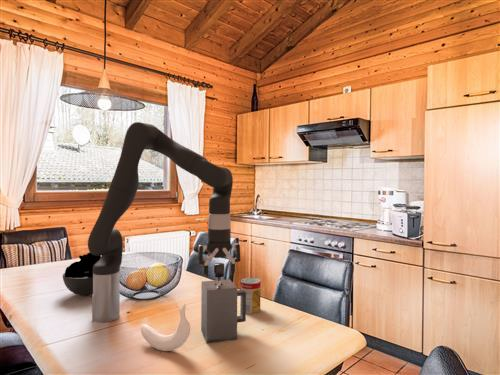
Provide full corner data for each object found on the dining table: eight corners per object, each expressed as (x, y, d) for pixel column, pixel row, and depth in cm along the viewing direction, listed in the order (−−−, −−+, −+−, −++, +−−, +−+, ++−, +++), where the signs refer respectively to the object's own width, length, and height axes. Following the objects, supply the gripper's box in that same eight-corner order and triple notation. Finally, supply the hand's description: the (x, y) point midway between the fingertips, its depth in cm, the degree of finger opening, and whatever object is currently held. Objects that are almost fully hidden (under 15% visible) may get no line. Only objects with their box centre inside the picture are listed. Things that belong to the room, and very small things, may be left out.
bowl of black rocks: (87, 305, 143) (86, 259, 143) (51, 298, 151) (51, 255, 150) (121, 291, 162) (121, 250, 161) (89, 285, 169) (88, 247, 169)
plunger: (214, 320, 115) (215, 265, 115) (212, 316, 118) (213, 263, 118) (224, 318, 116) (225, 264, 116) (222, 314, 119) (222, 262, 119)
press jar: (206, 343, 111) (207, 290, 111) (201, 330, 121) (201, 281, 120) (249, 337, 115) (249, 286, 115) (240, 325, 125) (240, 278, 125)
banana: (144, 339, 114) (144, 294, 113) (194, 351, 106) (194, 303, 106) (133, 346, 109) (133, 299, 109) (185, 359, 102) (185, 309, 101)
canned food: (262, 308, 142) (263, 278, 142) (256, 315, 135) (257, 284, 134) (244, 305, 145) (244, 276, 144) (237, 312, 137) (237, 282, 137)
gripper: (200, 229, 111) (199, 280, 111) (243, 227, 115) (242, 276, 116) (196, 226, 118) (195, 274, 118) (237, 224, 122) (236, 271, 123)
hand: (219, 275), depth 117 cm, fingers open, 8 cm apart
